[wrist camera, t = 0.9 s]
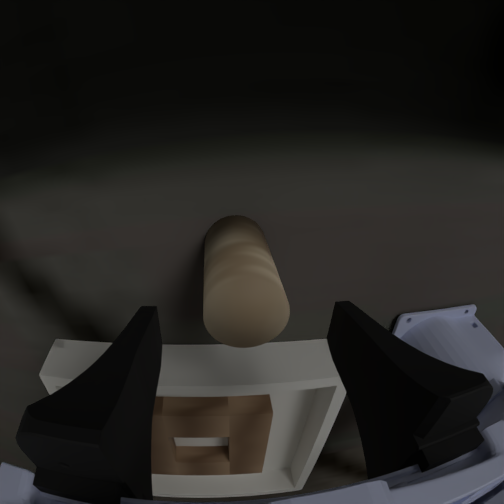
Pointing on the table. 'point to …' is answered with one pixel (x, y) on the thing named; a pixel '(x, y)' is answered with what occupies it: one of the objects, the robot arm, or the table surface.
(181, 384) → the tray
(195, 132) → the table surface
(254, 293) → the peg
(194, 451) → the bore plate
